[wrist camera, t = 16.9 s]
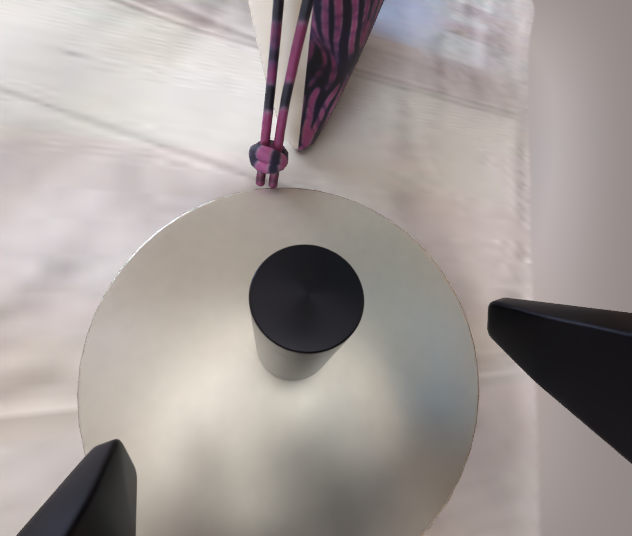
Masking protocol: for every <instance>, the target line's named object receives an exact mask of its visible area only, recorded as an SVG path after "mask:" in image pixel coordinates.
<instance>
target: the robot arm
mask: <svg viewBox="0 0 632 536" xmlns="http://www.w3.org/2000/svg"><path fill="white" fill-rule="evenodd" d="M487 330H488V333H489V335H490V337H491V338H492V339H493V340H494V341H495V342H496V343H497V344H498V345H499V346H500V347H501V348H502V349H503V350H504V351H505V352H506V353H507V354H508V355H509V356H510V357H511V358H512V359H513V360H514V361H515V362H516V363H517V364H518V365H519V366H520V367H521V368H522V369H523V370H524V371H525V372H526V373H527V374H528V375H529V376H530V377H531V378H532V379H533V380H534V381H535V382H536V383H537V384H538V385H540V386H541V387H542V388H543V389H544V390H545V391H547V392H548V393H549V394H550V395H551V396H552V397H554V398H555V399H556V400H557V401H558V402H559V403H561V404H562V405H563V406H564V407H565V408H567V409H568V410H569V411H570V412H571V413H572V414H574V415H575V416H576V417H577V418H578V419H580V420H581V421H582V422H583V423H584V424H585V425H587V426H588V427H589V428H590V429H591V430H593V431H594V432H595V433H596V434H597V435H598V436H600V437H601V438H602V439H603V440H604V441H605V442H607V443H608V444H609V445H610V446H612V447H613V448H614V449H615V450H616V451H617V452H618V453H620V454H621V455H622V456H623V457H624V458H625V459H627V460H628V461H629V462H630V463H632V313H627V312H619V311H611V310H602V309H594V308H586V307H577V306H570V305H562V304H553V303H545V302H537V301H529V300H521V299H513V298H501V299H498V300H495V301H493V302H491V303H490V304H489V306H488V324H487ZM136 507H137V473H136V469H135V466H134V464H133V462H132V460H131V458H130V456H129V454H128V453H127V451H126V449H125V447H124V445H123V443H122V442H121V441H120V440H119V439H113V440H110V441H108V442H105V443H102V444H99V445H97V446H95V447H94V448H92V450H90V452H89V453H88V454H87V455H86V456H85V457H84V458H83V460H82V461H81V462H80V463H79V464H78V465H77V467H76V468H75V469H74V470H73V471H72V472H71V473H70V475H69V476H68V477H67V478H66V479H65V480H64V481H63V483H62V484H61V485H60V486H59V487H58V488H57V489H56V491H55V492H54V493H53V494H52V495H51V496H50V497H49V499H48V500H47V501H46V502H45V503H44V504H43V505H42V507H41V508H40V509H39V510H38V511H37V512H36V514H35V515H34V516H33V517H32V518H31V519H30V520H29V522H28V523H27V524H26V525H25V526H24V527H23V528H22V530H21V531H20V532H19V533H18V534H17V535H16V536H136Z"/></svg>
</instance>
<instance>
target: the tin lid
mask: <svg viewBox="0 0 632 536" xmlns="http://www.w3.org/2000/svg"><path fill="white" fill-rule="evenodd" d="M77 398H78V417H79V428H80V433H81V438H82V443H83V448H84V453H85V456H86V455H87V454H88V453H89V452H90V450H92V448H94V447H95V446H97V445H99V444H102V443H105V442H108V441H110V440H113V439H119V440H120V441H121V442H122V443H123V445H124V447H125V449H126V451H127V453H128V454H129V456H130V458H131V460H132V462H133V464H134V466H135V469H136V473H137V507H136V536H422V535H423V534H424V533H425V532H426V531H427V530H428V529H429V527H430V526H431V525H432V523H433V522H434V521H435V519H436V518H437V516H438V515H439V514H440V512H441V511H442V509H443V508H444V507H445V505H446V504H447V502H448V500H449V498H450V497H451V495H452V493H453V491H454V489H455V487H456V485H457V483H458V481H459V479H460V477H461V475H462V472H463V470H464V467H465V464H466V461H467V458H468V456H469V453H470V450H471V446H472V441H473V437H474V432H475V428H476V423H477V412H478V401H479V383H478V367H477V360H476V354H475V347H474V343H473V339H472V336H471V332H470V328H469V325H468V322H467V319H466V317H465V314H464V312H463V309H462V307H461V304H460V302H459V300H458V298H457V296H456V294H455V292H454V291H453V289H452V287H451V285H450V283H449V281H448V280H447V279H446V277H445V276H444V274H443V273H442V271H441V270H440V268H439V267H438V265H437V264H436V263H435V262H434V260H433V259H432V258H431V257H430V256H429V255H428V253H427V252H426V251H425V250H424V249H423V248H422V247H421V246H420V245H419V244H418V243H417V242H416V241H415V240H414V239H413V238H412V237H411V236H410V235H409V234H407V233H406V232H405V231H404V230H402V229H401V228H400V227H398V226H397V225H396V224H394V223H393V222H392V221H390V220H389V219H387V218H385V217H384V216H382V215H380V214H379V213H377V212H375V211H374V210H372V209H369V208H367V207H365V206H363V205H361V204H359V203H357V202H354V201H351V200H349V199H346V198H343V197H340V196H337V195H333V194H329V193H325V192H321V191H316V190H308V189H300V188H265V189H255V190H250V191H244V192H239V193H234V194H231V195H228V196H224V197H221V198H218V199H215V200H212V201H210V202H208V203H205V204H203V205H200V206H198V207H196V208H194V209H192V210H190V211H188V212H187V213H185V214H183V215H181V216H179V217H178V218H176V219H174V220H173V221H172V222H170V223H169V224H167V225H166V226H165V227H163V228H162V229H160V230H159V231H158V232H156V233H155V234H154V235H153V236H152V237H151V238H150V239H149V240H147V241H146V242H145V243H144V244H143V245H142V246H141V247H140V248H139V249H138V250H137V251H136V252H135V253H134V254H133V256H132V257H131V258H130V259H129V260H128V261H127V262H126V263H125V265H124V266H123V267H122V268H121V270H120V271H119V273H118V274H117V276H116V277H115V279H114V280H113V281H112V283H111V284H110V286H109V287H108V289H107V291H106V293H105V295H104V297H103V299H102V301H101V302H100V304H99V306H98V308H97V310H96V312H95V315H94V318H93V320H92V323H91V326H90V328H89V331H88V334H87V337H86V341H85V345H84V349H83V354H82V358H81V363H80V370H79V381H78V392H77Z"/></svg>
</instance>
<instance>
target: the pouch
mask: <svg viewBox="0 0 632 536" xmlns="http://www.w3.org/2000/svg"><path fill="white" fill-rule="evenodd" d="M248 2H249V7H250V12H251V17H252V22H253V26H254V31H255V36H256V40H257V44H258V49H259V53H260V58H261V62H262V66H263V70H264V74H265V78H266V93H265V102H264V112H263V122H262V131H261V141H259V142H258V143H256V144H254V145H252V146H251V147H250V150H249V158H250V162H251V165H252V166H253V167H254V168H255V169H256V170H257V177H256V184H257V185H258V186H263V185H264V184H265V176H266V174H270V177H269V186H270V187H271V188H275V187H277V183H278V176H279V171H281V170H283V169H284V168H285V167H286V166H287V164H288V152H287V150H286V149H285V147H284V146H283V141H284V139H285V140H286V141H287V142H288V143H289V144H290V145H291V146H292V148H294V149H297V150H303V149H305V148H306V147H308V146H309V145H311V144H312V143H314V141H315V140H316V138H317V136H318V135H319V133H320V132H321V130H322V129H323V127H324V125H325V124H326V122H327V120H328V118H329V117H330V115H331V113H332V111H333V110H334V108H335V106H336V104H337V102H338V100H339V98H340V96H341V94H342V92H343V90H344V88H345V86H346V84H347V82H348V80H349V78H350V76H351V74H352V72H353V70H354V68H355V65H356V63H357V61H358V59H359V57H360V55H361V52H362V50H363V48H364V46H365V44H366V41H367V39H368V37H369V35H370V32H371V30H372V28H373V26H374V23H375V21H376V18H377V16H378V14H379V11H380V9H381V7H382V4H383V2H384V0H248ZM273 108H274V109H275V113H276V116H277V126H276V132H275V139H274V141H272V140H270V134H271V125H272V117H273Z"/></svg>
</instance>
